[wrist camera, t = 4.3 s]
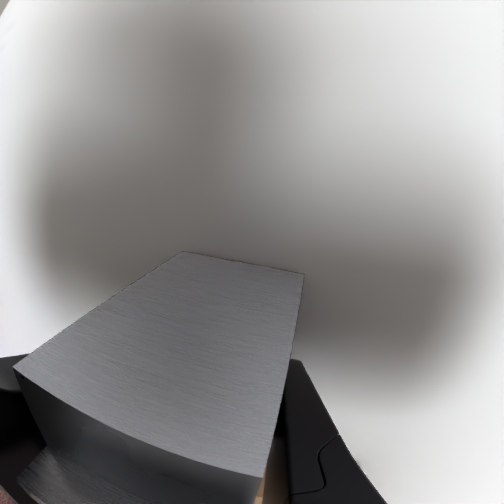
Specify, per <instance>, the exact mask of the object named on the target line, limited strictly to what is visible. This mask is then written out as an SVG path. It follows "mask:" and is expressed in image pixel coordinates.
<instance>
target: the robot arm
mask: <svg viewBox="0 0 504 504" xmlns="http://www.w3.org/2000/svg"><path fill="white" fill-rule="evenodd" d="M28 355H29V354H24V355H18V356H11V357H4V358H0V504H38V503H37V502H36V501H35V500H33V499H32V498H31V497H30V496H29V495H28V494H27V493H26V491H25V490H24V489H23V488H22V487H21V486H20V485H19V483H18V482H17V481H16V480H15V479H16V478H17V477H18V476H19V475H20V474H21V473H22V472H23V471H24V470H25V469H26V468H27V466H28V465H29V464H30V463H31V462H32V461H33V460H34V459H35V458H36V457H37V456H38V455H39V454H40V453H41V451H42V450H43V449H44V448H45V447H46V446H47V443H46V441H45V440H44V438H43V436H42V434H41V432H40V430H39V428H38V426H37V424H36V422H35V420H34V418H33V416H32V414H31V412H30V409H29V407H28V405H27V403H26V400H25V398H24V396H23V393H22V391H21V389H20V386H19V384H18V381H17V379H16V376H15V373H14V371H13V368H12V367H13V366H14V365H15V364H17V363H18V362H19V361H21V360H22V359H24V358H25V357H26V356H28ZM262 504H387V503H386V501H385V500H384V499H383V498H382V496H381V495H380V494H379V492H378V491H377V490H376V489H375V487H374V486H373V485H372V483H371V482H370V481H369V479H368V478H367V477H366V475H365V474H364V473H363V471H362V470H361V468H360V467H359V466H358V464H357V463H356V461H355V460H354V458H353V457H352V455H351V453H350V452H349V450H348V448H347V447H346V445H345V443H344V441H343V439H342V437H341V436H340V435H339V432H338V430H337V428H336V426H335V425H334V423H333V421H332V419H331V417H330V415H329V413H328V411H327V409H326V408H325V406H324V404H323V402H322V400H321V398H320V396H319V394H318V393H317V391H316V389H315V387H314V385H313V383H312V381H311V379H310V377H309V375H308V374H307V372H306V370H305V368H304V366H303V364H302V362H301V361H299V360H293V359H290V360H289V365H288V370H287V375H286V380H285V385H284V389H283V394H282V399H281V403H280V408H279V413H278V417H277V421H276V426H275V430H274V434H273V439H272V443H271V447H270V451H269V455H268V459H267V466H266V475H265V484H264V492H263V500H262Z"/></svg>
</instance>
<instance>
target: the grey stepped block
mask: <svg viewBox="0 0 504 504" xmlns="http://www.w3.org/2000/svg"><path fill="white" fill-rule="evenodd" d="M303 280H304V274H301V273H296V272H290V271H285V270H279V269H274V268H269V267H263V266H258V265H253V264H247V263H242V262H237V261H232V260H226V259H221V258H216V257H211V256H206V255H201V254H195V253H190V252H185V251H182V252H180V253H179V254H177V255H176V256H174V257H173V258H171V259H169V260H168V261H166V262H165V263H163V264H162V265H160V266H158V267H157V268H155V269H154V270H152V271H151V272H149V273H148V274H146V275H144V276H143V277H141V278H140V279H138V280H137V281H135V282H134V283H132V284H131V285H129V286H128V287H126V288H125V289H123V290H122V291H120V292H119V293H117V294H116V295H114V296H113V297H111V298H110V299H108V300H107V301H105V302H104V303H102V304H101V305H99V306H98V307H96V308H95V309H93V310H92V311H90V312H89V313H87V314H86V315H84V316H83V317H82V318H80V319H79V320H77V321H76V322H74V323H73V324H71V325H70V326H68V327H67V328H66V329H64V330H63V331H61V332H60V333H58V334H57V335H56V336H54V337H53V338H51V339H50V340H49V341H47V342H46V343H44V344H43V345H42V346H40V347H39V348H37V349H36V350H35V351H33V352H32V353H30V354H29V355H28V356H26V357H25V358H24V359H22V360H21V361H19V362H18V363H17V364H15V365H14V366H13V367H12V368H13V371H14V373H15V376H16V379H17V381H18V384H19V386H20V389H21V391H22V393H23V396H24V398H25V400H26V403H27V405H28V407H29V409H30V412H31V414H32V416H33V418H34V420H35V422H36V424H37V426H38V428H39V430H40V432H41V434H42V436H43V438H44V440H45V441H46V443H47V446H46V447H45V448H44V449H43V450H42V451H41V453H40V454H39V455H38V456H37V457H36V458H35V459H34V460H33V461H32V462H31V463H30V464H29V465H28V466H27V468H26V469H25V470H24V471H23V472H22V473H21V474H20V475H19V476H18V477H17V478H16V479H15V480H16V481H17V482H18V483H19V485H20V486H21V487H22V488H23V489H24V490H25V491H26V493H27V494H28V495H29V496H30V497H31V498H32V499H33V500H35V501H36V502H37V503H38V504H254V501H255V499H256V496H257V493H258V490H259V487H260V484H261V482H262V479H263V475H264V471H265V467H266V463H267V459H268V455H269V451H270V447H271V443H272V439H273V434H274V430H275V426H276V421H277V417H278V413H279V408H280V403H281V399H282V394H283V389H284V385H285V380H286V375H287V370H288V365H289V360H290V355H291V349H292V344H293V339H294V333H295V328H296V322H297V317H298V311H299V305H300V299H301V293H302V287H303Z"/></svg>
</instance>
